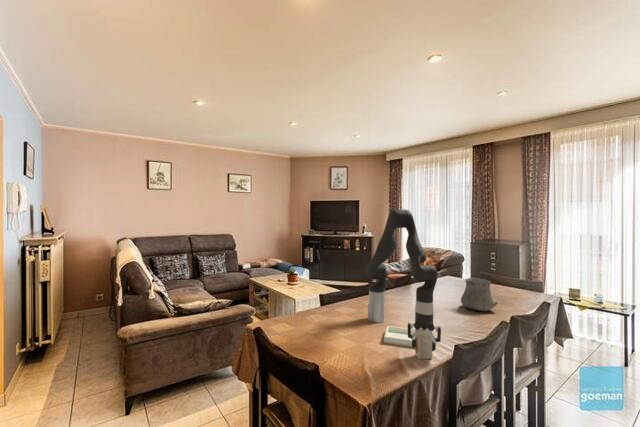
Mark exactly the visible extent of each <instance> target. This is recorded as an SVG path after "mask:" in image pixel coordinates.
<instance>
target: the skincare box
mask: <svg viewBox="0 0 640 427" xmlns="http://www.w3.org/2000/svg"><path fill="white" fill-rule="evenodd" d="M414 329H415V328H414ZM415 332H417V337H416V338H415V348H414V349H415V352H414V353H415V356H416V358H417V359H418V360H425V359H427V360H429V359H433V351H432V339H431V338H430V336H429V335H428V333H427V331H426V330H423V329H422V330H419V329H417V330H416V329H415ZM430 332H431V334H432V333H433V331H430ZM429 334H430V333H429Z"/></svg>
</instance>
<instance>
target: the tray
mask: <svg viewBox="0 0 640 427" xmlns="http://www.w3.org/2000/svg"><path fill="white" fill-rule="evenodd" d="M414 333H415V328H412V329H411V335H413V334H414ZM383 343H384V344H389V345H395V346H402V347H409V348H413V347H412V339H411V338H408V327H400V326H391V325H387V327H386V330H385V333H384V335H383Z"/></svg>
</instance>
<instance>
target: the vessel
mask: <svg viewBox="0 0 640 427" xmlns="http://www.w3.org/2000/svg"><path fill="white" fill-rule="evenodd" d="M491 283H492V282H491V280H487V279H485V278H480V277H469V278H468V277H467V278H465V289H464V291H463V293H462V296H461V298H460V303H461V304H462V306H463V307H465V308H468V309H470V310H473V311H477V310H478V311H479V312H488V311H491V310H493V309H494V308H495V307H496V306H497V305H498V304H499V303H498V301H494V298H493V295H492V293H491Z"/></svg>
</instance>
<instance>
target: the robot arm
mask: <svg viewBox="0 0 640 427" xmlns="http://www.w3.org/2000/svg"><path fill="white" fill-rule="evenodd" d="M384 226H385V227H384V230H383V232H382V235H381V238H380V239H379V242H378V244H377V247H376V249H375V252H374V254H373V256H372V258H371V259H370V261H369V263H368V264H367V267H366V278H368V279H369V280H376V281H375V282H373V283H372V284H370V285H369V288H368V304H367V321H369V322H372V323H384V322H385V316H386V315H385V312H386V308H385V303H386V286H387V266H386V265H385V264H384V263H385V262H386V261H387V260H389V259H390V258H391V257H392V256H393V254H394V252H395V250H396V248H397V241H396V238H395V236H394V232H395V230H396V229H406V231H407V233H408V234H407V239H406V243H405V249H406V253H407V255H408V257H409V259H410V264H411V265H410V266H411V274H412V278H413V279H414V280H415V281H416V282H418V283H423V282H424V283H423V285H420V286H418V287H416V289H415V290H416V291H415V304H414V305H415V306H414V314H415V316H414V323H411V322H408V323H407V328H408V338H411V339H412V347H411V348H413V349H415V338H416V337H417V332H415V333H414V334H413V335H411V329H416V330H417V329H419V330H422V329H423V330H426V331H427V333H428V335H429V336H430V338H431V339H432V352H434V351H436V349H437V348H436V345H437V343H441V339H442V338H441V337H442V335H441V334H442V327H441V326H439V325H438V326H435V325H434V311H435V310H434V291H435V288H436V284H437V280H438V277H439V276H438V275H439V274H438V270H437V267H435V266H434V265H431V264H429V265H428V264H426V265H423V263H425V262H426V260H427V256H426V252H425V250H424V248H423V246H422V244H421V242H420V239H419V235H418V230H417V227H416V223H415V218H414V216H413V214H412V212H411V211H410V209H409V210H408V209H391V211H389V214H388V216H387V220H386V223H385V225H384ZM434 330H435V332H436V333H437V335H436V336H437V337H435V336H434V334H433V331H434ZM430 331H432V334H431V332H430ZM429 333H430V334H429Z"/></svg>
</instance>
